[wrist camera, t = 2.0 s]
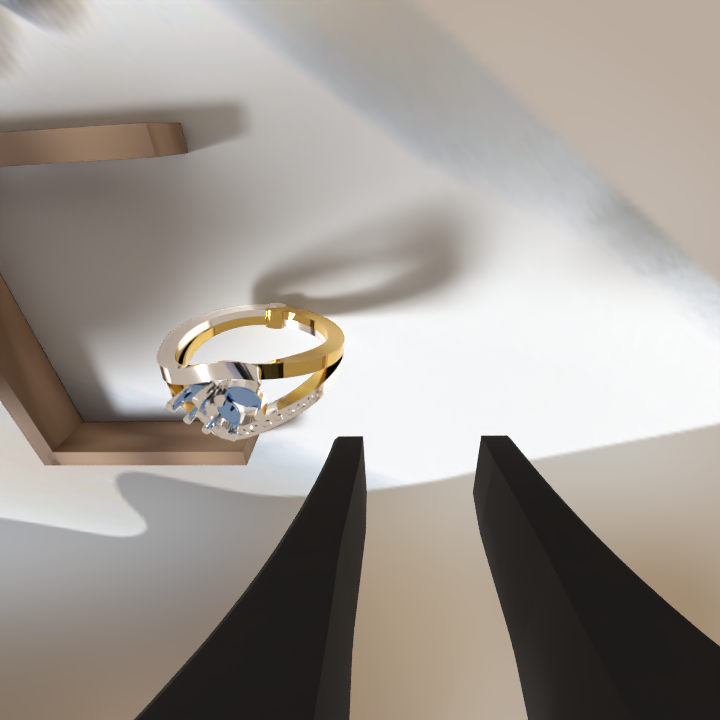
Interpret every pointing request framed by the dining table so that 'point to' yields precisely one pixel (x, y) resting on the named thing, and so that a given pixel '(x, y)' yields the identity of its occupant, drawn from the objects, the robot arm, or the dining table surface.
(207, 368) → the ring
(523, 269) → the dining table surface
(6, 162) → the brown u-shaped frame
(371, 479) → the dining table surface
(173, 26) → the dining table surface
